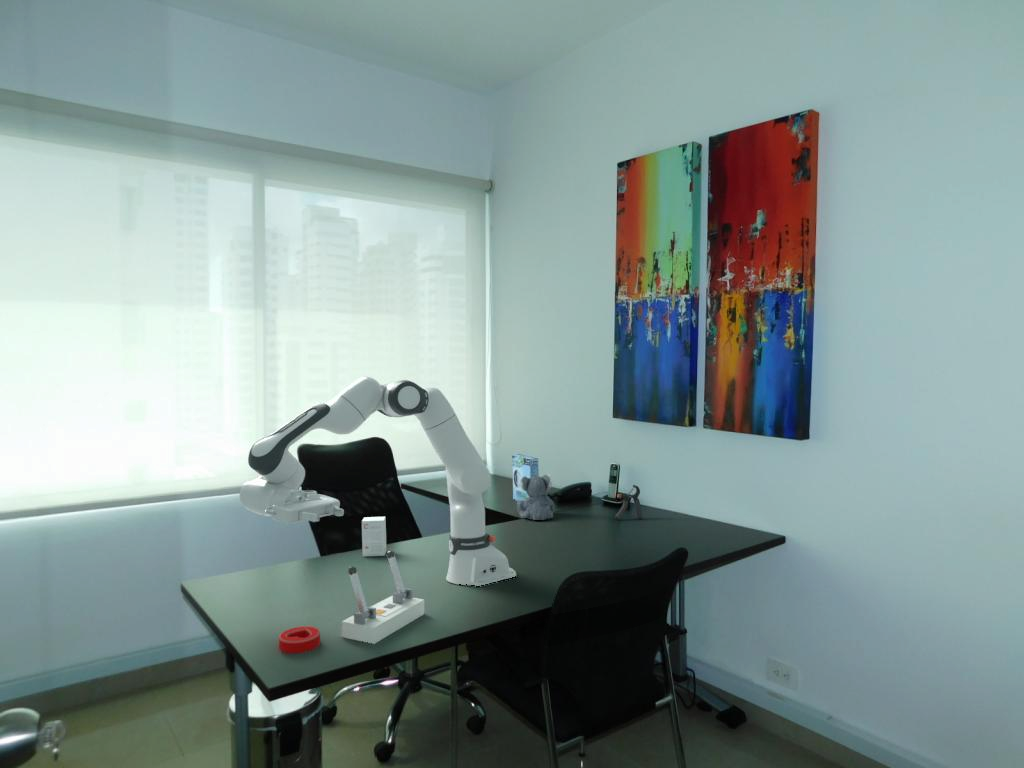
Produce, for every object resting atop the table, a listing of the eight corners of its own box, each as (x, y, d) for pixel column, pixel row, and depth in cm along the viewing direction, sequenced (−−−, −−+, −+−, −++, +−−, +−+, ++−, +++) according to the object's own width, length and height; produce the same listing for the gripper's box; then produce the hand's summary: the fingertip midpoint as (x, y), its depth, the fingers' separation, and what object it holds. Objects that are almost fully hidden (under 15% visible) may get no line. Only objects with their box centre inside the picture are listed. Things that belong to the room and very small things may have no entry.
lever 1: (366, 617, 171) (351, 566, 173) (373, 615, 170) (358, 564, 172) (359, 621, 168) (344, 569, 170) (365, 619, 167) (350, 567, 169)
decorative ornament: (320, 636, 170) (320, 624, 170) (319, 652, 161) (318, 639, 161) (281, 640, 168) (280, 628, 168) (277, 656, 159) (276, 643, 159)
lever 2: (403, 597, 185) (389, 550, 187) (410, 595, 184) (395, 548, 186) (397, 601, 183) (383, 553, 184) (403, 599, 182) (389, 551, 183)
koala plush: (553, 512, 309) (553, 470, 309) (559, 521, 292) (558, 477, 291) (516, 513, 308) (516, 471, 308) (519, 522, 290) (518, 477, 290)
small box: (386, 551, 248) (386, 516, 247) (385, 556, 241) (384, 520, 241) (364, 552, 247) (363, 516, 246) (362, 557, 240) (361, 520, 240)
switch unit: (394, 608, 189) (394, 585, 189) (424, 614, 184) (424, 590, 184) (342, 637, 169) (341, 611, 169) (373, 644, 165) (373, 617, 164)
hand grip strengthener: (614, 519, 294) (613, 485, 294) (641, 518, 297) (641, 484, 296) (615, 520, 292) (615, 486, 292) (643, 519, 294) (642, 485, 294)
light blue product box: (539, 505, 326) (539, 458, 326) (530, 506, 324) (529, 459, 324) (521, 498, 344) (520, 453, 343) (512, 499, 342) (511, 454, 341)
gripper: (262, 498, 171) (303, 509, 166) (316, 489, 190) (356, 498, 184) (259, 522, 172) (300, 534, 166) (314, 511, 190) (353, 521, 184)
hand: (330, 515), depth 175 cm, fingers open, 8 cm apart
